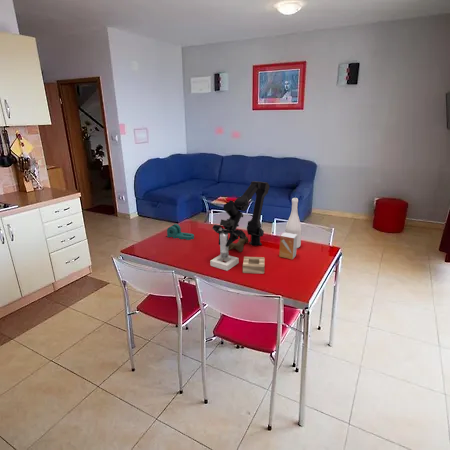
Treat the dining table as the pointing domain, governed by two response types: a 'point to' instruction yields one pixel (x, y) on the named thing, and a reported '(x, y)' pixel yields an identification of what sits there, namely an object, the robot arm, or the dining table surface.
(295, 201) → the wine bottle
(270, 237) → the dining table surface
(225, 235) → the grey peg
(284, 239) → the small box
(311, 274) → the dining table surface
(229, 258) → the white square frame
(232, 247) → the brown bone-shaped piece
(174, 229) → the bracket
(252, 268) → the socket block
